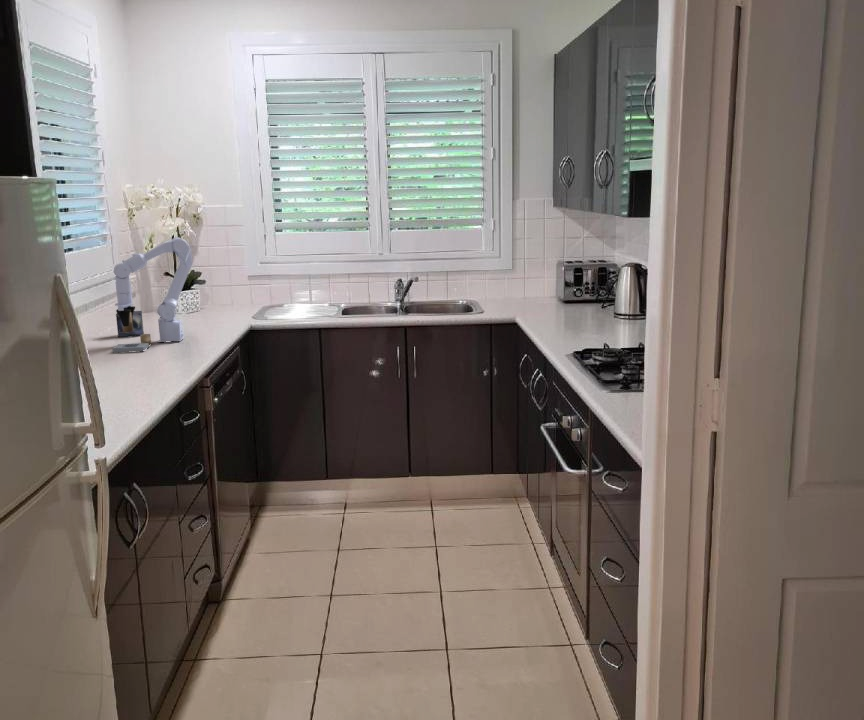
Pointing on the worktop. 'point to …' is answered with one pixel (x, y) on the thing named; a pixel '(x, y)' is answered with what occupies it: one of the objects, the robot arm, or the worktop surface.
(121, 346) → the board
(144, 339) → the short dowel
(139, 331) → the small box
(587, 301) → the worktop surface
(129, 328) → the long dowel
